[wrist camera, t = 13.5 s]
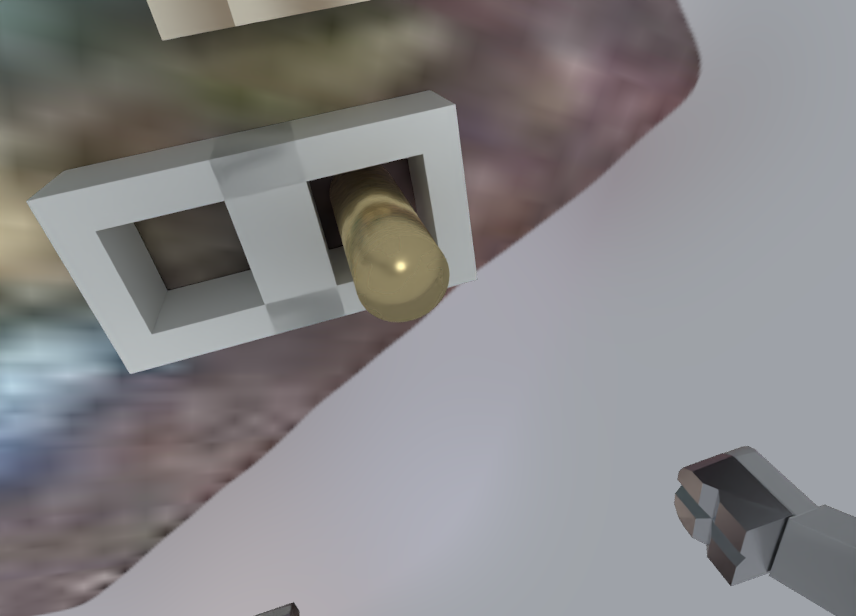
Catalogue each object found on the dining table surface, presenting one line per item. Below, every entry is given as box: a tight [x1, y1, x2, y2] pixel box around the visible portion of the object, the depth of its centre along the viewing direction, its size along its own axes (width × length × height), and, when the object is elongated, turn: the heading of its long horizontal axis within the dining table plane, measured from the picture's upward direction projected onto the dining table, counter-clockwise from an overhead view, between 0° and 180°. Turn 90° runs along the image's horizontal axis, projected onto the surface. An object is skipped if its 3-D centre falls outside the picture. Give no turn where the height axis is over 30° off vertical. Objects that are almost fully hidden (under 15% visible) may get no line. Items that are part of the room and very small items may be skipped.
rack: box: [26, 90, 477, 374], centre depth 29 cm, size 20×10×5 cm, turn 99°
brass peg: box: [329, 164, 450, 322], centre depth 27 cm, size 4×4×12 cm
